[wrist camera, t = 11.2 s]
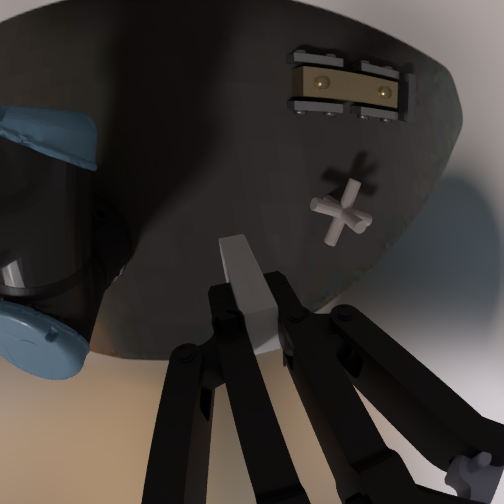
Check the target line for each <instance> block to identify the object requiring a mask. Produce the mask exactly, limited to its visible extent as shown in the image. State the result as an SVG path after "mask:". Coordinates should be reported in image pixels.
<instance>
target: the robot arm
mask: <svg viewBox="0 0 504 504" xmlns="http://www.w3.org/2000/svg"><path fill="white" fill-rule="evenodd" d="M96 142H97V127H96V124H95V122H94V120H93V119H92V118H91V117H90V116H88V115H86V114H83V113H78V112H72V111H65V110H57V109H48V108H37V107H26V106H10V105H0V354H1V355H2V356H3V357H4V358H5V359H6V360H8V361H9V362H11V363H12V364H13V365H15V366H16V367H18V368H20V369H21V370H23V371H25V372H28V373H30V374H32V375H35V376H38V377H41V378H45V379H51V380H63V379H68V378H70V377H73V376H75V375H76V374H78V373H79V372H80V370H81V369H82V367H83V364H84V361H85V358H86V355H87V354H88V353H89V348H90V346H89V344H90V340H91V336H92V332H93V329H94V325H95V321H96V318H97V315H98V311H99V308H100V305H101V301H102V298H103V295H104V292H105V290H106V289H107V288H108V287H109V286H110V285H111V284H112V283H113V282H115V281H116V280H117V279H118V278H119V276H120V275H121V274H122V272H123V271H124V269H125V267H126V264H127V261H128V258H129V254H130V248H131V241H130V235H129V231H128V228H127V225H126V223H125V221H124V219H123V218H122V216H121V215H120V214H119V212H118V211H117V210H116V209H115V208H114V207H113V206H112V205H111V204H109V203H108V202H107V201H105V200H103V199H101V198H99V197H97V196H94V195H93V184H94V172H95V171H96V170H97V165H96V163H95V154H96ZM219 245H220V250H221V256H222V261H223V267H224V272H225V277H226V281H227V283H224V284H219V285H215V286H211V287H210V290H209V292H208V297H209V302H210V307H211V313H212V326H213V330H214V334H213V336H212V337H211V338H210V339H209V340H208V341H207V342H205V343H204V344H202V345H200V346H197V345H195V344H190V343H187V344H182V345H180V346H178V347H176V348H175V349H174V350H173V352H172V354H171V356H170V360H169V365H168V369H167V373H166V377H165V381H164V386H163V390H162V395H161V400H160V404H159V409H158V413H157V418H156V423H155V428H154V433H153V438H152V443H151V449H150V454H149V460H148V465H147V472H146V477H145V484H144V490H143V497H142V503H141V504H206V494H207V479H208V466H209V453H210V441H211V429H212V418H213V407H214V395H215V388H216V387H218V386H220V385H222V384H224V383H226V387H227V392H228V396H229V400H230V405H231V409H232V413H233V417H234V421H235V425H236V429H237V432H238V436H239V440H240V444H241V448H242V451H243V455H244V459H245V462H246V466H247V469H248V473H249V477H250V480H251V483H252V487H253V490H254V494H255V498H256V503H257V504H311V503H310V501H309V498H308V496H307V494H306V492H305V490H304V488H303V486H302V485H301V483H300V481H299V478H298V475H297V473H296V470H295V467H294V465H293V462H292V460H291V457H290V454H289V451H288V449H287V446H286V443H285V441H284V438H283V435H282V432H281V429H280V426H279V424H278V421H277V418H276V415H275V412H274V410H273V407H272V404H271V401H270V398H269V395H268V392H267V389H266V386H265V383H264V381H263V377H262V375H261V372H260V369H259V366H258V363H257V360H256V357H255V355H256V354H260V353H264V352H268V351H272V350H276V349H279V348H280V344H281V346H282V349H283V365H284V366H286V365H287V367H288V370H289V372H290V374H291V377H292V379H293V382H294V384H295V386H296V389H297V391H298V394H299V396H300V398H301V401H302V403H303V406H304V408H305V410H306V413H307V415H308V418H309V420H310V422H311V425H312V427H313V429H314V432H315V434H316V436H317V439H318V441H319V443H320V446H321V448H322V451H323V453H324V455H325V458H326V460H327V462H328V464H329V467H330V469H331V471H332V474H333V476H334V479H335V482H336V489H337V492H338V495H339V497H340V500H341V502H342V504H490V503H491V501H492V499H493V496H494V494H495V491H496V489H497V486H498V484H499V481H500V478H501V475H502V472H503V470H504V424H501V423H498V422H495V421H493V420H490V419H487V418H485V417H482V416H481V415H480V414H479V413H478V412H477V411H475V410H474V409H473V408H472V407H471V406H470V405H469V404H468V403H467V402H466V401H464V400H463V399H462V398H461V397H460V396H459V395H458V394H457V393H455V392H454V391H453V390H452V389H451V388H450V387H449V386H447V385H446V384H445V383H444V382H443V381H442V380H440V379H439V378H438V377H437V376H436V375H435V374H434V373H432V372H431V371H430V370H429V369H428V368H427V367H425V366H424V365H423V364H422V363H421V362H420V361H418V360H417V359H416V358H415V357H414V356H412V354H410V353H409V352H408V351H407V350H406V349H404V348H403V347H402V346H401V345H400V344H398V343H397V342H396V341H395V340H394V339H392V338H391V337H390V336H389V335H388V334H387V333H385V332H384V331H383V330H382V329H381V328H379V327H378V326H377V325H376V324H375V323H373V322H372V321H371V320H370V319H369V318H367V317H366V316H365V315H364V314H363V313H361V312H360V311H359V310H358V309H356V308H355V307H353V306H351V305H347V304H343V305H338V306H335V307H334V308H333V309H332V310H331V312H330V314H315V313H311V312H310V311H309V310H308V309H307V308H305V307H303V306H302V305H301V303H300V301H299V300H298V298H297V296H296V294H295V293H294V291H293V289H292V288H291V286H290V284H289V283H288V281H287V279H286V277H285V275H283V274H282V273H280V272H279V271H275V272H270V273H266V274H262V272H261V270H260V268H259V266H258V263H257V261H256V259H255V257H254V255H253V253H252V251H251V249H250V247H249V244H248V242H247V240H246V238H245V236H244V234H240V235H235V236H230V237H225V238H221V239H219ZM353 385H354V386H355V387H356V388H357V389H358V390H359V391H360V392H361V393H362V394H363V396H364V397H365V398H367V400H368V401H369V402H370V403H371V404H372V405H373V406H374V407H375V408H376V409H377V410H378V411H379V412H380V413H381V414H382V415H383V416H384V417H385V418H386V419H387V420H388V421H389V422H390V423H391V424H392V425H393V426H394V427H395V428H396V429H397V430H398V431H399V432H400V433H401V434H402V435H403V436H404V437H405V438H406V439H407V440H408V441H409V442H410V443H411V444H412V445H413V446H414V447H415V448H416V449H417V450H418V451H419V452H420V453H421V454H422V455H423V456H424V457H425V458H426V459H427V460H428V461H429V462H430V463H432V464H433V465H435V466H436V467H438V468H439V469H441V470H443V471H445V472H447V475H446V477H445V483H446V485H449V486H451V487H452V488H454V489H455V490H456V492H457V495H458V496H454V495H450V494H446V493H443V492H440V491H436V490H433V489H430V488H427V487H424V486H421V485H418V484H415V482H414V480H413V478H412V476H411V475H410V473H409V471H408V469H407V467H406V465H405V463H404V462H403V460H402V458H401V457H400V455H399V454H398V453H397V452H396V451H394V450H392V449H389V448H388V447H387V446H386V444H385V442H384V441H383V439H382V437H381V435H380V433H379V432H378V430H377V428H376V426H375V424H374V422H373V421H372V419H371V417H370V415H369V413H368V411H367V410H366V408H365V406H364V404H363V402H362V401H361V399H360V397H359V395H358V393H357V392H356V390H355V388H354V386H353Z"/></svg>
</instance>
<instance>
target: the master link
mask: <svg viewBox="0 0 504 504" xmlns="http://www.w3.org/2000/svg"><path fill="white" fill-rule="evenodd" d="M397 95H398V83H397V82H393V81H389V80H385V79H380V78H376V77H371V76H366V75H361V74H356V73H351V72H345V71H339V70H332V69H325V68H317V67H308V66H302V67H298V68H294V69H292V96H298V97H313V98H325V99H335V100H344V101H352V102H360V103H366V104H373V105H379V106H386V107H393V108H397Z"/></svg>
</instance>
